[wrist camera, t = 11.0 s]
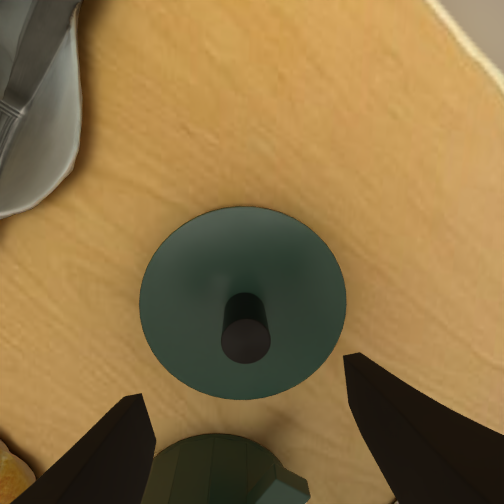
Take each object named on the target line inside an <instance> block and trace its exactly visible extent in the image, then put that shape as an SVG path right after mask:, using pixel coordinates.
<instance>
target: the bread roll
mask: <svg viewBox="0 0 504 504" xmlns="http://www.w3.org/2000/svg"><path fill="white" fill-rule="evenodd" d="M35 481H36V478H35V475H34V473H33V471H32V470H31V469H30V468H29V466H28V465H27V464H26V463H25V462H24V461H22V460H21V459H19V458H18V457H17V456H16V455H13V454H11V453H10V452H9V450H8V448H7V446H6V445H5V444H4V443H3V442H2V441H1V440H0V504H10V503H11V502H12V501H13V500H14V499H16V498H17V497H18V496H19V495H20V494H21V493H23V492H24V491H25V490H26V489H27V488H28V487H30V486H31V485H32V484H33V483H34V482H35Z"/></svg>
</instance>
